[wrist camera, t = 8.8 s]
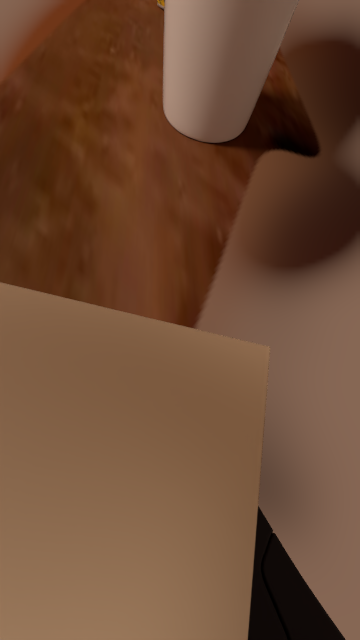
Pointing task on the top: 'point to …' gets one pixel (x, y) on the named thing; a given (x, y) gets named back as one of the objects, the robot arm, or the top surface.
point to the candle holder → (218, 62)
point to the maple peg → (125, 474)
